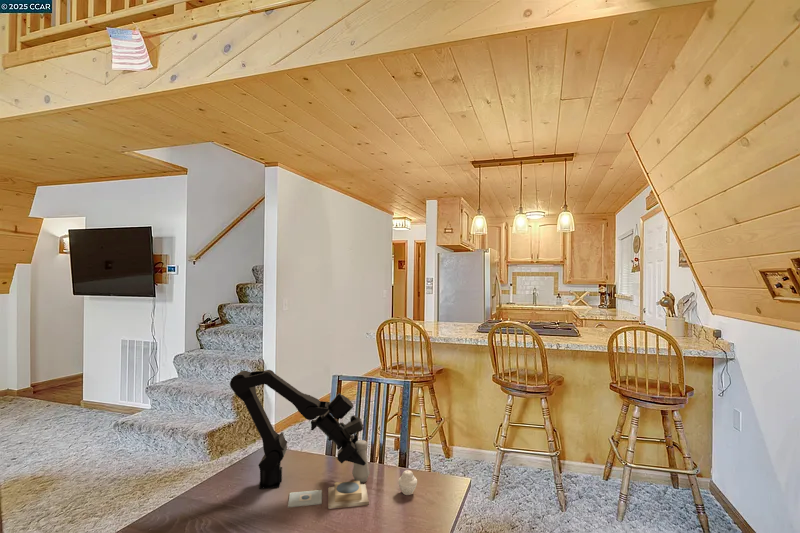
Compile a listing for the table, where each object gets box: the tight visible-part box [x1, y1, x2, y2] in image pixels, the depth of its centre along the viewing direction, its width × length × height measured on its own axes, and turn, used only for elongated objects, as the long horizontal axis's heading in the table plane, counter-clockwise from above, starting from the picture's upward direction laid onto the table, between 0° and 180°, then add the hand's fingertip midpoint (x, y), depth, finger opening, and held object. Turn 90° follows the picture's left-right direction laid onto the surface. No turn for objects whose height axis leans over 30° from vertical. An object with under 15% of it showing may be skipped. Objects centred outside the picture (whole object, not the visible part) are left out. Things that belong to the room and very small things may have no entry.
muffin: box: [397, 469, 418, 496], centre depth 134 cm, size 6×6×7 cm
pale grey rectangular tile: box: [287, 489, 323, 508], centre depth 130 cm, size 10×8×1 cm
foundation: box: [327, 480, 370, 510], centre depth 131 cm, size 12×11×3 cm
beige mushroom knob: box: [351, 439, 370, 484], centre depth 142 cm, size 6×6×13 cm
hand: (365, 460), depth 143 cm, fingers open, 6 cm apart
